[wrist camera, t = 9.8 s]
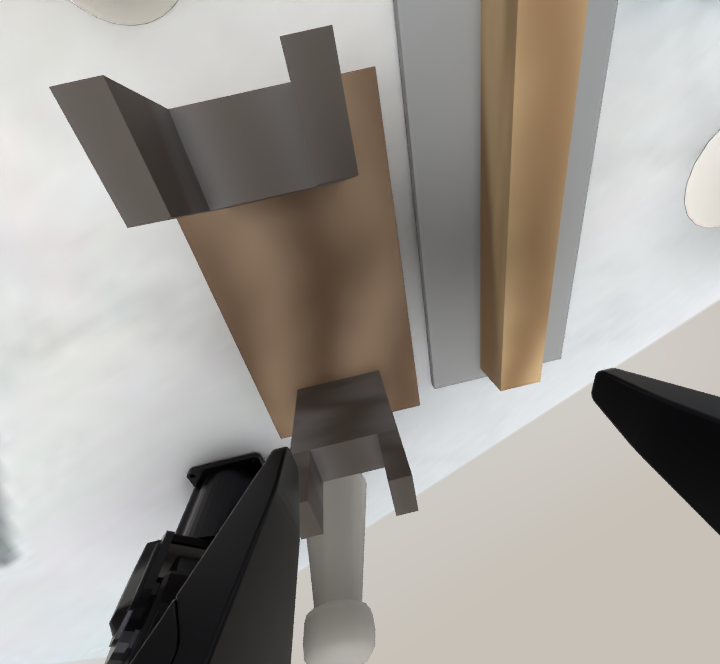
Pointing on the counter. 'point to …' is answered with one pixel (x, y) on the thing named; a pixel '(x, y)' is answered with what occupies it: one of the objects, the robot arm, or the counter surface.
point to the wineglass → (705, 187)
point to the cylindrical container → (126, 10)
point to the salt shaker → (339, 579)
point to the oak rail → (523, 173)
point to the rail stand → (282, 246)
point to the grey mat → (478, 171)
